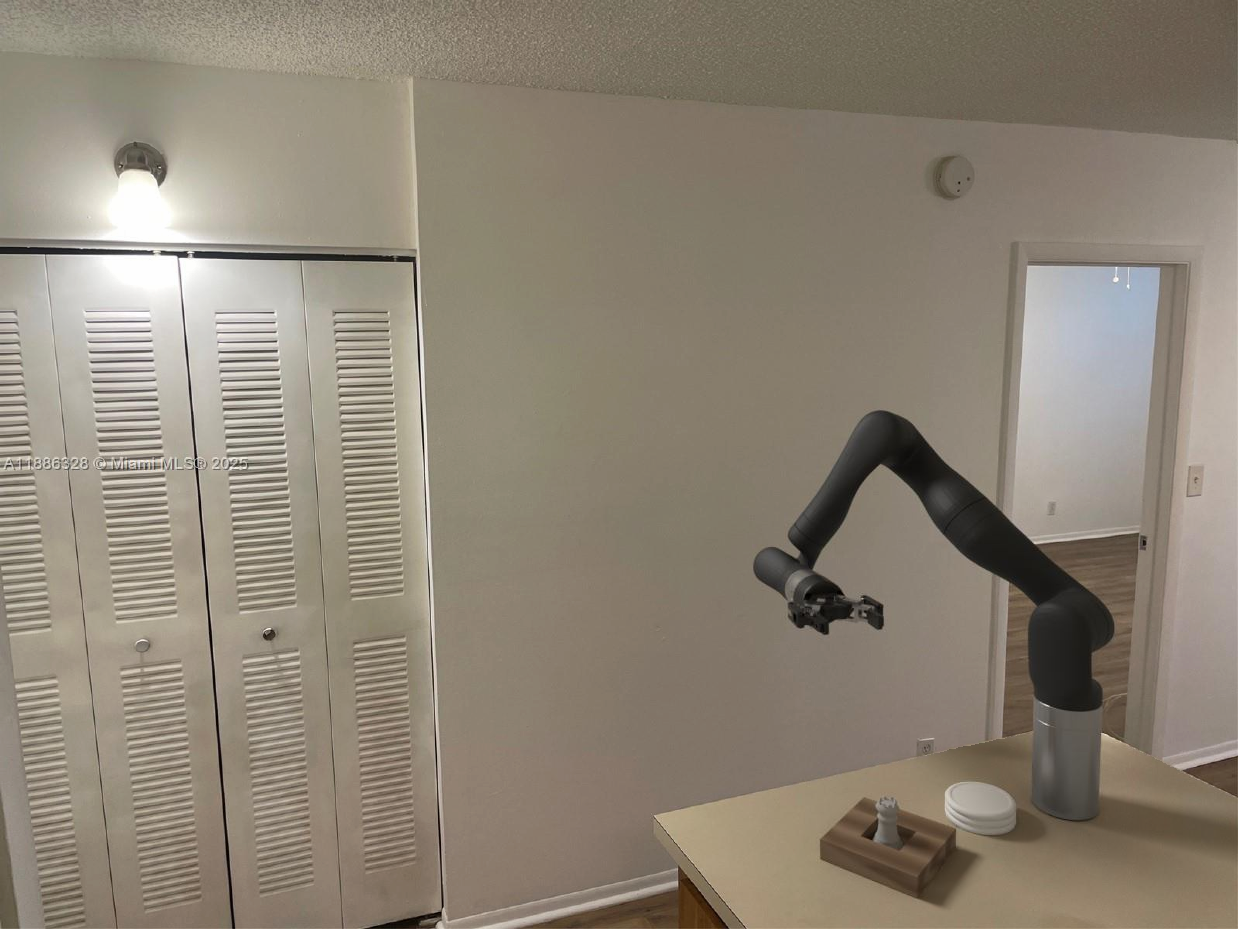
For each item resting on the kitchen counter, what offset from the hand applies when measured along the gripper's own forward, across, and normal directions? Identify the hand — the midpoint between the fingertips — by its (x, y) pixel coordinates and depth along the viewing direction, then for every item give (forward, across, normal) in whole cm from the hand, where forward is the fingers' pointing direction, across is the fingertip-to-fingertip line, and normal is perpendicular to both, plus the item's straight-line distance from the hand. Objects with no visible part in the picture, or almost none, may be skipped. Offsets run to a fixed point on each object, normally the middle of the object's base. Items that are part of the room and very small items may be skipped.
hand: (853, 626), depth 126 cm
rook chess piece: (+11, 0, +30) cm, 32 cm away
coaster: (+6, +18, +30) cm, 36 cm away
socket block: (+11, 0, +30) cm, 32 cm away
